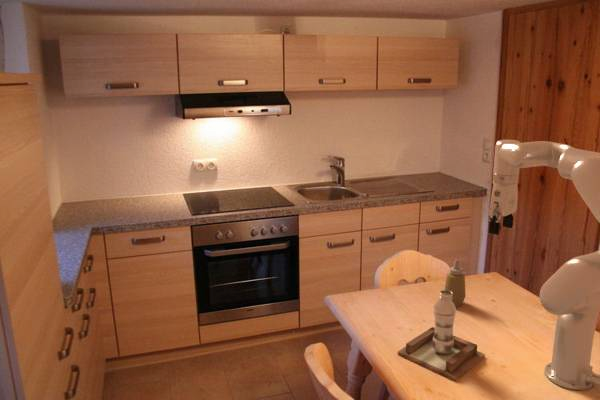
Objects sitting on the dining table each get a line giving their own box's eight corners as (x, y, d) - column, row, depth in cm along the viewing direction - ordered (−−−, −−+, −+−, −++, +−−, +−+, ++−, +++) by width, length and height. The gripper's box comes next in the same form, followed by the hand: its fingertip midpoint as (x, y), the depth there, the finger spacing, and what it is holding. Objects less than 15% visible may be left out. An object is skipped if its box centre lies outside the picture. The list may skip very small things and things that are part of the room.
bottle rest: (484, 357, 154) (485, 345, 153) (455, 381, 142) (455, 368, 141) (428, 334, 168) (429, 323, 167) (397, 354, 156) (398, 342, 155)
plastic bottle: (454, 358, 151) (458, 298, 147) (431, 355, 153) (435, 296, 148) (452, 347, 158) (456, 289, 153) (430, 345, 159) (434, 287, 154)
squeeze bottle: (467, 302, 192) (470, 258, 187) (461, 310, 185) (464, 265, 181) (446, 297, 196) (449, 254, 191) (440, 305, 189) (442, 261, 185)
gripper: (504, 184, 148) (499, 239, 152) (528, 176, 160) (523, 227, 164) (481, 181, 154) (477, 233, 158) (505, 173, 165) (501, 222, 169)
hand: (500, 230), depth 161 cm, fingers open, 9 cm apart
